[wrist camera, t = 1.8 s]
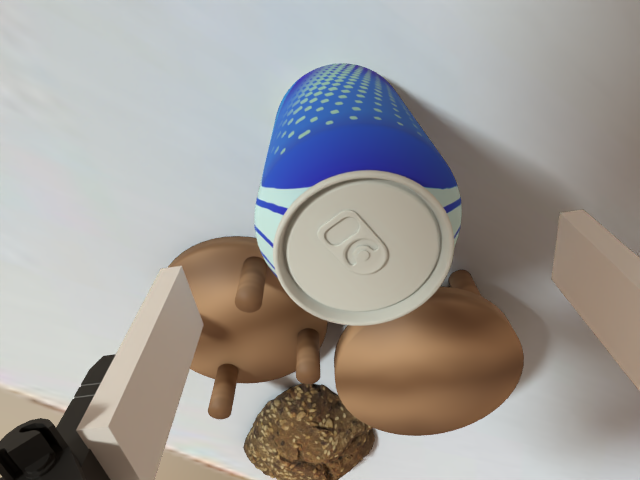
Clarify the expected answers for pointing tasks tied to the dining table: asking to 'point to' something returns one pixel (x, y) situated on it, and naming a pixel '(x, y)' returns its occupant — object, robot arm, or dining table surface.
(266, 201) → the beer can
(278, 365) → the upturned footstool
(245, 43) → the dining table surface
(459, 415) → the footstool
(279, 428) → the bread roll
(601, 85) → the dining table surface
